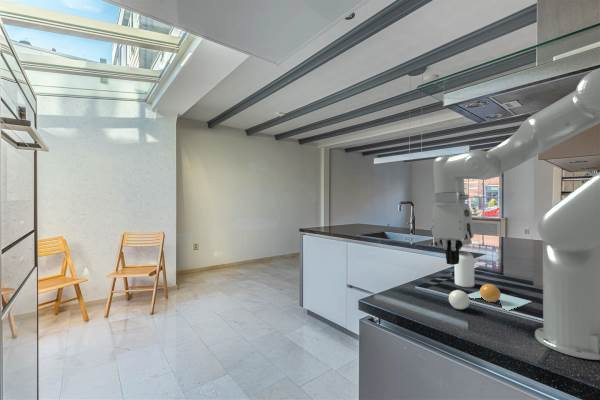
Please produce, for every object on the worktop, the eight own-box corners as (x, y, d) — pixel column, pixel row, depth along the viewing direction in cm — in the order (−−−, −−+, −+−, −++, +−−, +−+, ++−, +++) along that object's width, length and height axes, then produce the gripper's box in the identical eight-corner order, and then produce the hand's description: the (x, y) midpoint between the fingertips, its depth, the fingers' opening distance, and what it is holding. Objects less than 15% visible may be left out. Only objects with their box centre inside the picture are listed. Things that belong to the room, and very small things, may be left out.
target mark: (531, 302, 90) (531, 301, 90) (508, 311, 83) (508, 310, 83) (485, 289, 102) (485, 289, 102) (461, 296, 95) (461, 296, 95)
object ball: (493, 288, 87) (494, 306, 87) (504, 284, 89) (504, 302, 89) (475, 283, 92) (476, 300, 92) (486, 280, 94) (486, 296, 94)
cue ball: (462, 294, 82) (468, 313, 81) (469, 287, 85) (475, 305, 85) (443, 294, 86) (448, 311, 86) (450, 286, 89) (456, 303, 89)
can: (477, 288, 104) (476, 255, 104) (458, 287, 105) (457, 255, 105) (470, 283, 110) (470, 252, 110) (452, 282, 111) (451, 251, 111)
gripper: (484, 197, 76) (488, 266, 76) (434, 199, 90) (437, 258, 89) (467, 198, 73) (471, 270, 73) (418, 200, 86) (421, 261, 86)
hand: (452, 263), depth 81 cm, fingers closed
